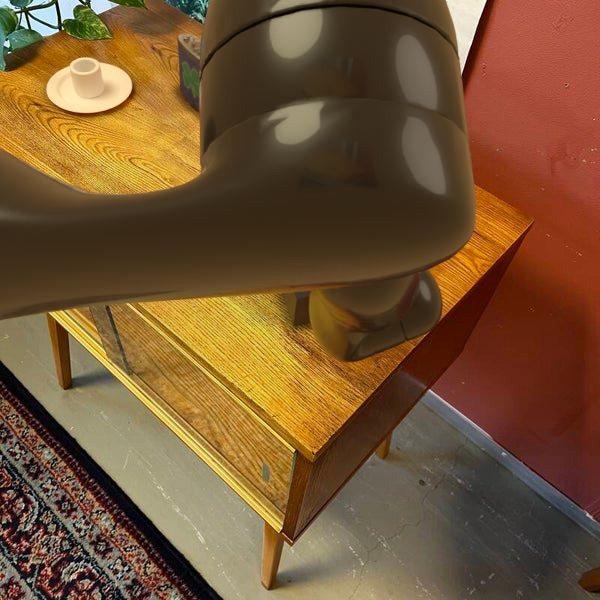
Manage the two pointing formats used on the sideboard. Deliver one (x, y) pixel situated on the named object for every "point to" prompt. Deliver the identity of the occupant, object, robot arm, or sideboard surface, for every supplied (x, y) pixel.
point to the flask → (189, 68)
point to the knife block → (298, 306)
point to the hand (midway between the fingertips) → (266, 67)
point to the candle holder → (89, 86)
